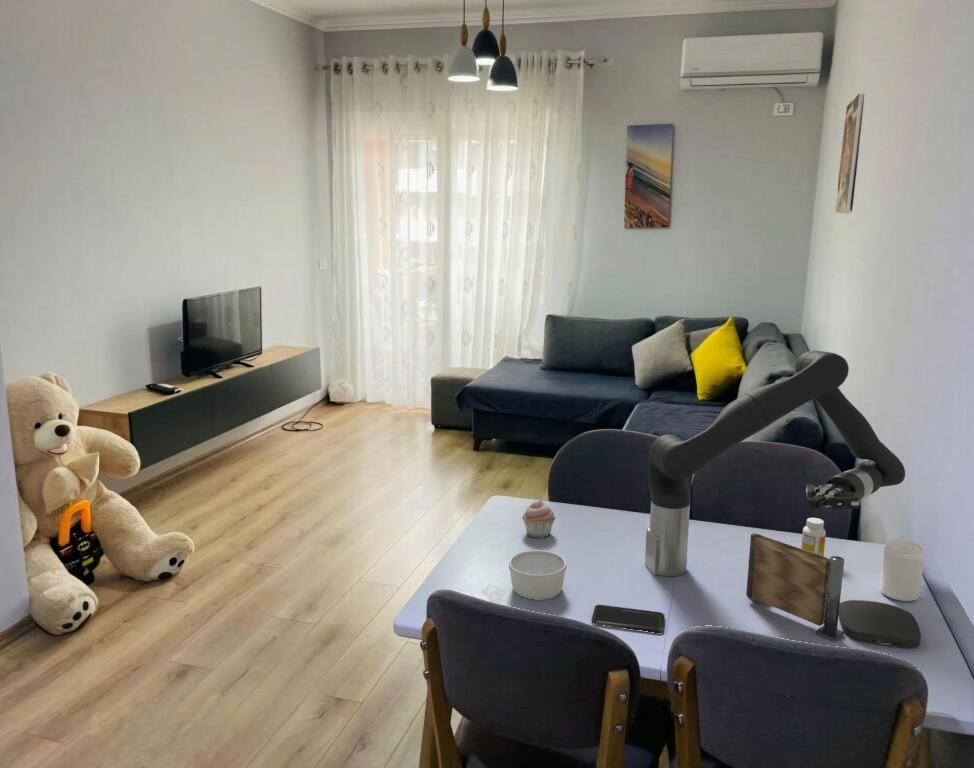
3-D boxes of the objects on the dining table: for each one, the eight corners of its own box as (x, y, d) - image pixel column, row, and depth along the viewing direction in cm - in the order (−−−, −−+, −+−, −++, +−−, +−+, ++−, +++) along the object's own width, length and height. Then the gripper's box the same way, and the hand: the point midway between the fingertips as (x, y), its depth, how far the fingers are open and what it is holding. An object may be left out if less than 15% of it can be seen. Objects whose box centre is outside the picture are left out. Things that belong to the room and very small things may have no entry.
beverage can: (915, 589, 181) (921, 541, 178) (922, 605, 174) (928, 555, 171) (877, 584, 184) (882, 536, 181) (881, 600, 176) (887, 550, 173)
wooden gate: (824, 623, 163) (830, 559, 160) (819, 626, 162) (825, 561, 159) (749, 592, 176) (754, 532, 173) (744, 595, 175) (749, 535, 172)
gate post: (849, 631, 163) (857, 556, 159) (834, 642, 159) (842, 565, 155) (755, 593, 179) (760, 523, 176) (739, 602, 175) (744, 531, 172)
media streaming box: (835, 607, 173) (836, 595, 173) (908, 617, 169) (909, 604, 169) (844, 641, 160) (846, 628, 159) (924, 653, 156) (925, 639, 155)
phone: (663, 631, 162) (590, 621, 166) (662, 636, 162) (590, 626, 166) (664, 612, 169) (595, 603, 173) (664, 617, 169) (595, 608, 173)
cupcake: (557, 540, 208) (558, 505, 206) (522, 540, 208) (522, 505, 206) (554, 526, 217) (555, 492, 215) (521, 526, 217) (521, 492, 215)
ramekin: (526, 608, 173) (527, 579, 171) (498, 584, 184) (498, 556, 182) (576, 595, 179) (577, 567, 177) (546, 572, 190) (546, 545, 188)
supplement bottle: (819, 552, 201) (823, 516, 199) (826, 561, 195) (830, 525, 193) (797, 551, 201) (801, 516, 199) (804, 560, 196) (807, 524, 194)
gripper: (823, 465, 188) (786, 481, 178) (879, 479, 179) (843, 497, 168) (821, 494, 190) (783, 512, 179) (876, 510, 180) (840, 529, 169)
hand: (812, 504), depth 173 cm, fingers closed
